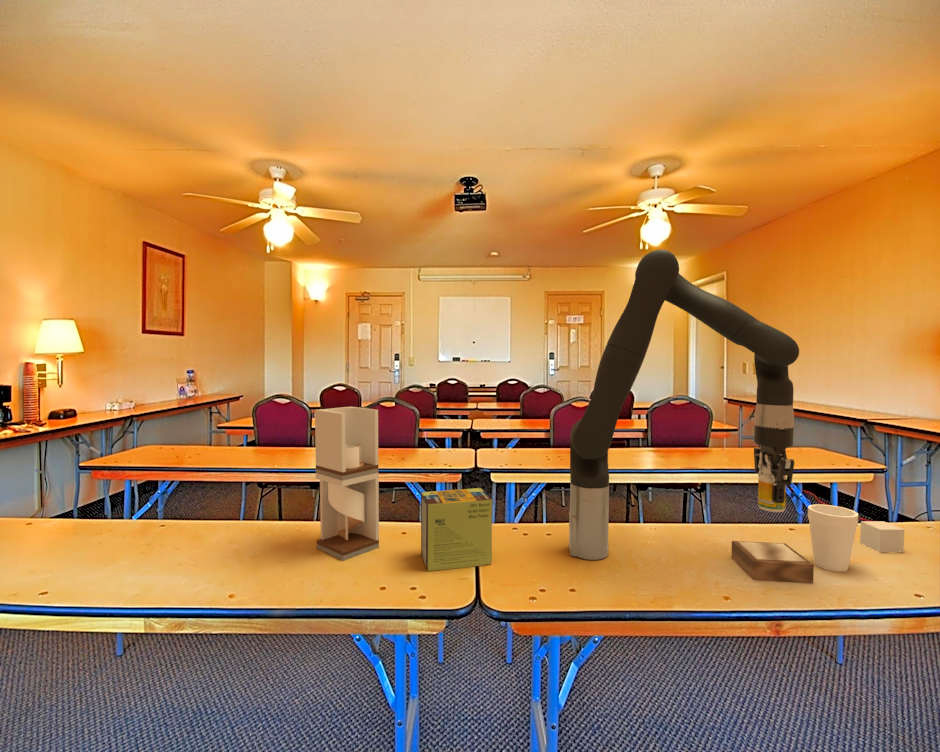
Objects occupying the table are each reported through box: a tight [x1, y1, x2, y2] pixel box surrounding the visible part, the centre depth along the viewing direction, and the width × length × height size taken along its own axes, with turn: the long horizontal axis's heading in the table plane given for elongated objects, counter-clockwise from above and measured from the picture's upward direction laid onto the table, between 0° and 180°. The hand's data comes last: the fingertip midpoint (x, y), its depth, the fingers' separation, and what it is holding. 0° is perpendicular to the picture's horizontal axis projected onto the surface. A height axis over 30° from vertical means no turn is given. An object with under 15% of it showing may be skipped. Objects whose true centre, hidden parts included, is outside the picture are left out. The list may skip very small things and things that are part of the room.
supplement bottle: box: [757, 466, 787, 513], centre depth 111 cm, size 5×5×10 cm
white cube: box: [859, 520, 905, 553], centre depth 124 cm, size 6×6×6 cm
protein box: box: [420, 487, 493, 572], centre depth 117 cm, size 10×15×16 cm
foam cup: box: [807, 503, 859, 573], centre depth 113 cm, size 10×9×13 cm
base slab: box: [730, 540, 815, 584], centre depth 111 cm, size 12×12×4 cm
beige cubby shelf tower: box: [314, 406, 380, 562], centre depth 123 cm, size 11×11×35 cm
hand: (771, 498), depth 111 cm, fingers closed on supplement bottle, 5 cm apart
